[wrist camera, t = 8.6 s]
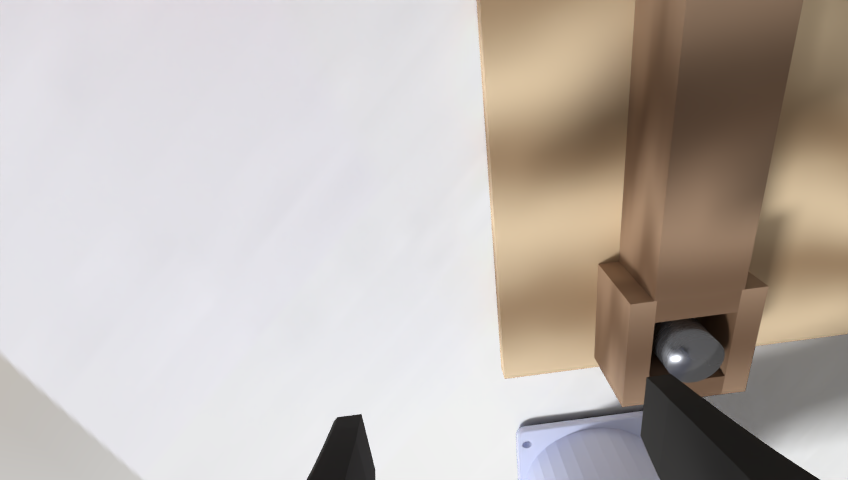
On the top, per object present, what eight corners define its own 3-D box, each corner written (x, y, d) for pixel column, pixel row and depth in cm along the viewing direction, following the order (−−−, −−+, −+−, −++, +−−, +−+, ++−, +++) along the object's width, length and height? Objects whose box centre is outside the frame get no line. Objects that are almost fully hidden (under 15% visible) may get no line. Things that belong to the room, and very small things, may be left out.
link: (701, 343, 23) (744, 391, 20) (594, 357, 23) (622, 406, 20) (779, -132, 15) (872, -167, 12) (614, -109, 15) (666, -138, 12)
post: (673, 325, 22) (720, 378, 19) (627, 331, 22) (665, 385, 19) (678, 285, 21) (728, 334, 18) (630, 292, 21) (671, 342, 18)
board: (957, 308, 24) (975, 317, 23) (501, 367, 24) (504, 378, 23) (1206, -258, 15) (1248, -272, 14) (466, -153, 15) (470, -162, 14)
